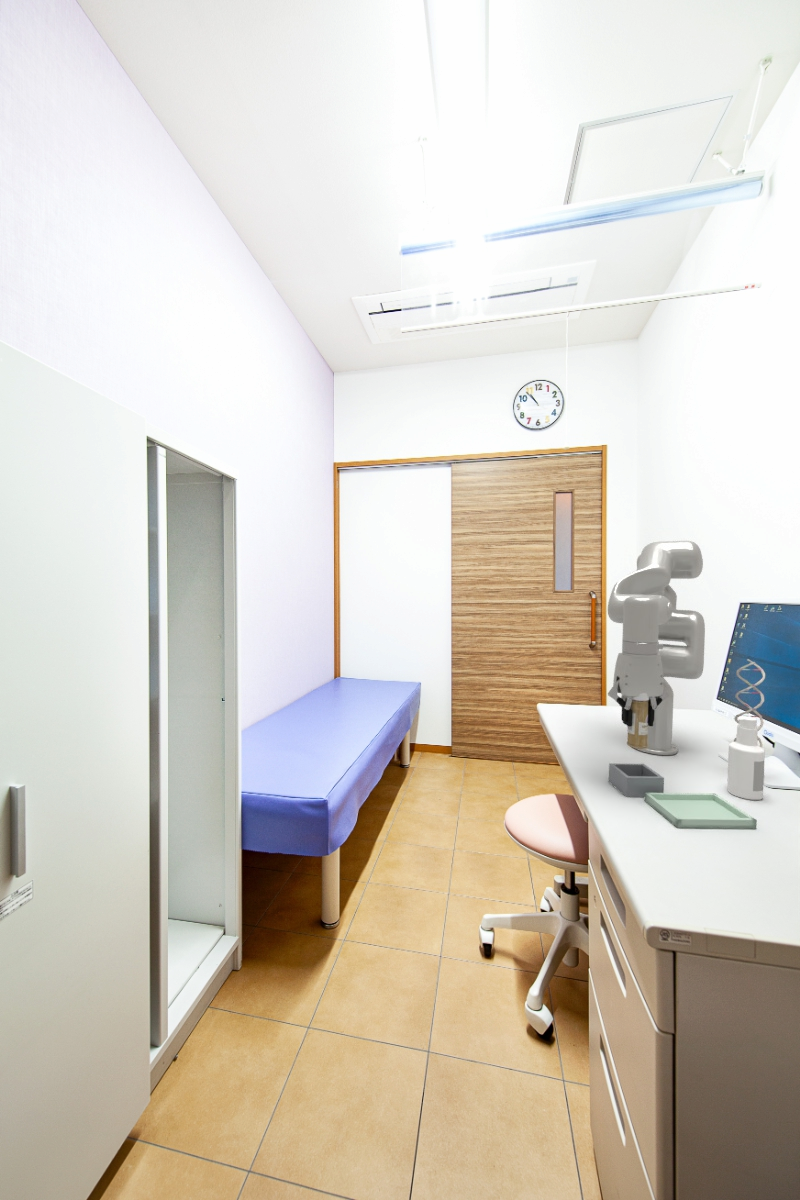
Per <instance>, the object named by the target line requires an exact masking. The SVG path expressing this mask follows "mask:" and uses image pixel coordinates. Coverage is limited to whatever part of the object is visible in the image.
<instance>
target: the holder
mask: <svg viewBox="0 0 800 1200" xmlns="http://www.w3.org/2000/svg"><path fill="white" fill-rule="evenodd" d="M608 782H609V783H610V784H611V785H612V787H614V786H615V787H616V788H615V787H614V788H615V789H616V790H618V791H619V793H621V792H622V793H623V794H624V795H623V794H622V793H621V794H622V795H623V796H624V797H626V798H645V793H665V777H664V776H662V775H660V774H659V773H657V772H656V771H655V770H653V769H652V768H650V767H649V766H648V765H646V764H645V763H615V762H613V763H610V762H609V764H608Z"/></svg>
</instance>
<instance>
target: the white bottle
mask: <svg viewBox="0 0 800 1200" xmlns="http://www.w3.org/2000/svg"><path fill="white" fill-rule="evenodd" d="M747 716H748V715H742V716H739V717H738V721H739V723H737V727H736V737H735V738H736V741H735V742H734V741H731V742H730V743H729V744H728V758H727V761H728V762H727V784H726V790H727V791H728V793H729V794H731V795H733V796H736V797H738V798H742V799H745V800H750V801H760V800H762V799H763V798H764V781H765V756H766V755H765V754H766V750H765V749H764V747H762V748H761V747H760V745H759V743H758V742H759V740H758V738H757V736H758V732H759V731H758V729H757V728H758V726H757V724H758V723H757V722H758V719H757V718H756V717H751V716H749V717H747Z"/></svg>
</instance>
